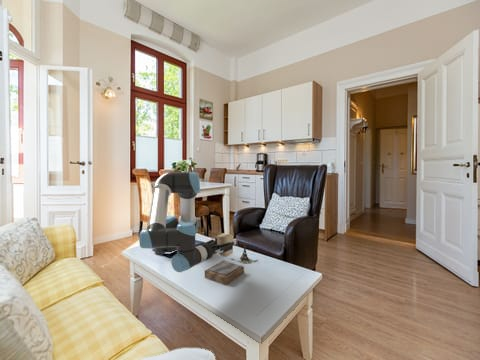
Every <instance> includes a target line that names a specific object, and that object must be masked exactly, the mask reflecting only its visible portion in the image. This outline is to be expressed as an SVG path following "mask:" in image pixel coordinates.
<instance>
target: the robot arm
mask: <svg viewBox="0 0 480 360" xmlns="http://www.w3.org/2000/svg"><path fill="white" fill-rule="evenodd" d="M199 193H201V183H200V176H199V173H198V172H196V171H195V172H193V171H169V172H165V173H164V174H161V175H160V176H158V178H157V179H156V180H155V181H154V182H153V185H152V188H151V194H152V199H151V204H150V211H149V216H148V220H147V227H146V229H142V230H140V233H139V236H138V237H139V238H138V239H139V241H138V243H139V247H140V248H142V249H154V254H155V255H158V256H164V255H163V253H165V252H172V251H175V250H177V252H176V253H175V254H173V256H172V258H171V260H170V261H171V267H172V269H173V270H174V271H175V272H177V273H183V272H185V271H188V270H189V269H191V268H193V267H195V266H198V265H199V264H202V263H203V262H205V261H207V260H209V259H211V258H212V257H213V255H215V254H217V252H219V253H220V254H223V253H225V252H227V251H229V250H231V249H233V250H234V246H235V245H237V238H233V240H231V241H229V242H228V243H226V244H222V245H217V237H216V238H215V239H213V238H211V239H210V240H208V241H205V242H203V243H200V244H199V245H196V234H197V233H198V230H199V218H198V217H196V215H195V199H196V196H197V195H198V194H199ZM171 194H177V196H178V197H179V208H180V215H179V217H176V216H175V215H168V205H169V197H170V196H171Z"/></svg>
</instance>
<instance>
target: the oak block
mask: <svg viewBox="0 0 480 360" xmlns="http://www.w3.org/2000/svg"><path fill="white" fill-rule="evenodd" d="M216 238H217V245H222V244H226V243H228V242H229V241H231V240H233V239H234V235H233V234H230V233H225V232H222V233H221V234H217V235H216ZM233 254H234V248H233V249H231V250H229V251H227V252H225V253H223V254H220V253H219V252H217V253H216V255H217V256H221V257H225V258H227V257H229V256H231V255H233Z"/></svg>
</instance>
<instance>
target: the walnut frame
mask: <svg viewBox="0 0 480 360" xmlns="http://www.w3.org/2000/svg"><path fill="white" fill-rule="evenodd" d="M244 273H245V266H244V265H241V264H237V263H234V262H230V261H227V260H221V261H219V262H218V263H216V264H214V265H213V266H211V267H209V268H207V269H205V270H204V278H205V279H208V280H211V281H213V282H217V283H219V284H222V285H224V286H228V285H229V284H230V283H232V282H233V281H235V280H236V279H238V278H239V277H240V276H242V275H243V274H244Z"/></svg>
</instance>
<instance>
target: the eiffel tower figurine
mask: <svg viewBox="0 0 480 360" xmlns="http://www.w3.org/2000/svg"><path fill="white" fill-rule="evenodd" d="M243 243H244V245H243V253H242V254H241V256H240V257H239V259H240V260H236V259H234V258H230V260H231V261H235V262H238V263H241V264H244V265H250V264H252V263H256V262H258V259H256V260H253V261H250V258H249V257H248V254H247V250H246V240H244V242H243Z"/></svg>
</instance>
